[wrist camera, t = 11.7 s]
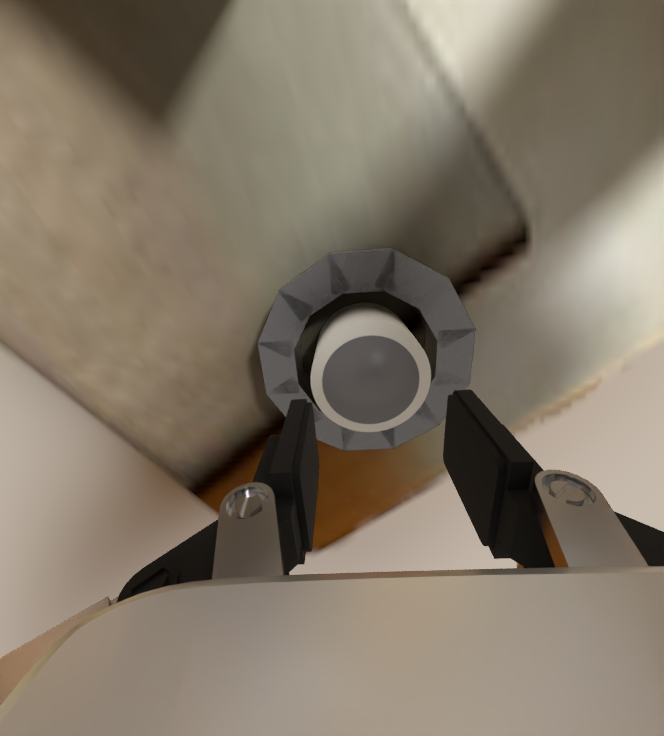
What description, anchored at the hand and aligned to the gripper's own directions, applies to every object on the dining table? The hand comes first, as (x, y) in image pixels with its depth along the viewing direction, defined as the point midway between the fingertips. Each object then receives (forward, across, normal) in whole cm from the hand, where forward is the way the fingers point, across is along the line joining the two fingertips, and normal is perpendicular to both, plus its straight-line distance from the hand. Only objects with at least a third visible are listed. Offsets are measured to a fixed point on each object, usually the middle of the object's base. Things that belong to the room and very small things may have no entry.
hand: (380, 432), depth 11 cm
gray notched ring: (+9, 0, 0) cm, 9 cm away
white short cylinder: (+9, 0, 0) cm, 9 cm away
